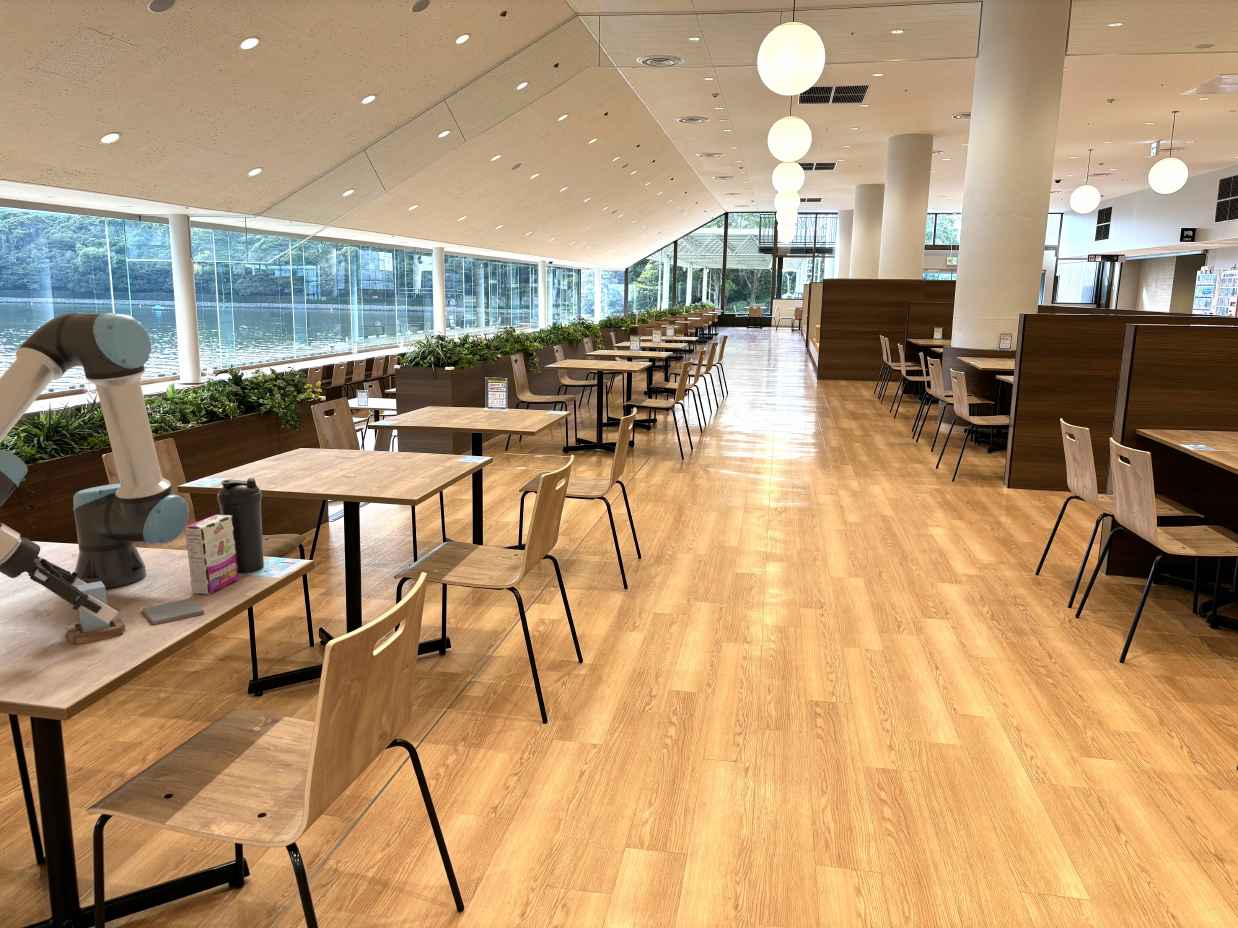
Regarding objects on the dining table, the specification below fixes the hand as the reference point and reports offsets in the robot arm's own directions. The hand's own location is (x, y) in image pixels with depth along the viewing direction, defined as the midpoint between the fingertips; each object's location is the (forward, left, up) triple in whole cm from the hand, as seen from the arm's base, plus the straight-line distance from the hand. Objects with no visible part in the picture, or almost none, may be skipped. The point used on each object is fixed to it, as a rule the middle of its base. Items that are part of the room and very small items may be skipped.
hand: (106, 608), depth 178 cm
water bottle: (-24, +35, -5) cm, 42 cm away
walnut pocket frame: (0, -2, -5) cm, 5 cm away
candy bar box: (-14, +25, -5) cm, 29 cm away
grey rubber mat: (-2, +13, -5) cm, 14 cm away
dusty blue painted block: (0, -2, -5) cm, 5 cm away
